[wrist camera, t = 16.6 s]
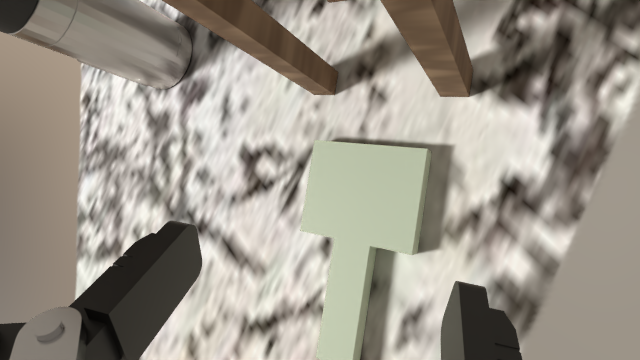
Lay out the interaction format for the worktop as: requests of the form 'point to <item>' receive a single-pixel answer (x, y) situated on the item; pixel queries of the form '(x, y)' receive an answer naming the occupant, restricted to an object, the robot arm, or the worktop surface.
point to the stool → (317, 75)
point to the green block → (361, 226)
